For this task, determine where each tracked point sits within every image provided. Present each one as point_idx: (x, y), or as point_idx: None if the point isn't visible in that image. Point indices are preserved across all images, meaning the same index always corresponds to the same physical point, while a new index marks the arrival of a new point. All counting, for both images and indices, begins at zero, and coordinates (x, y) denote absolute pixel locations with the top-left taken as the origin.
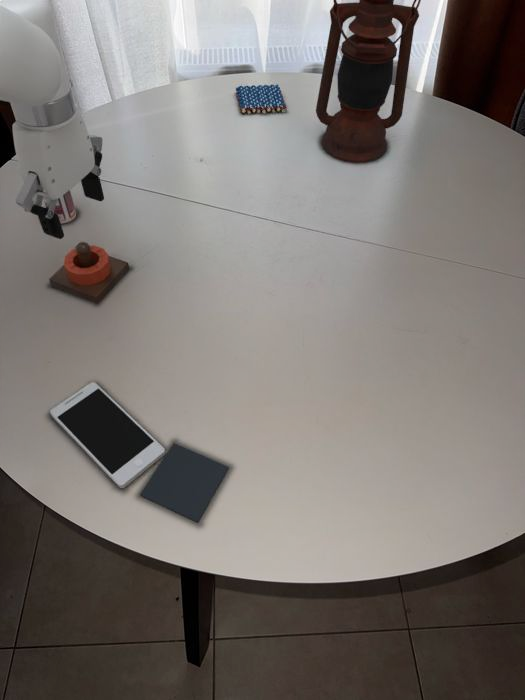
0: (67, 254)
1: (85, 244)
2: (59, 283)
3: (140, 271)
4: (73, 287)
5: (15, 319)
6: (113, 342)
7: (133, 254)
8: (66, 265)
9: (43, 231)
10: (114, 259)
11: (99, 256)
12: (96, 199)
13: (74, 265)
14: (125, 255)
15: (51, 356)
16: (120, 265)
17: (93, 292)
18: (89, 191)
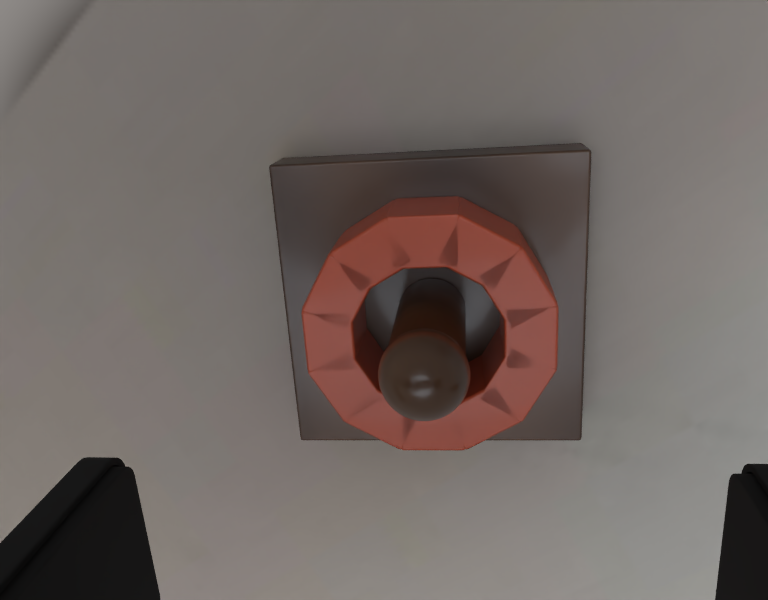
0: (408, 219)
1: (431, 413)
2: (277, 236)
3: (583, 464)
4: (294, 315)
5: (31, 162)
6: (189, 570)
7: (684, 374)
8: (327, 278)
9: (79, 462)
10: (569, 370)
11: (486, 389)
12: (720, 594)
13: (353, 315)
14: (660, 344)
15: (3, 424)
16: (542, 419)
17: (319, 414)
18: (757, 595)
